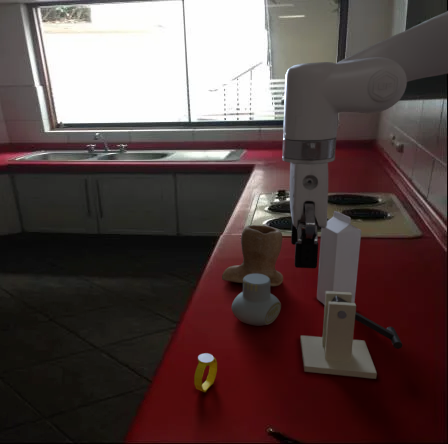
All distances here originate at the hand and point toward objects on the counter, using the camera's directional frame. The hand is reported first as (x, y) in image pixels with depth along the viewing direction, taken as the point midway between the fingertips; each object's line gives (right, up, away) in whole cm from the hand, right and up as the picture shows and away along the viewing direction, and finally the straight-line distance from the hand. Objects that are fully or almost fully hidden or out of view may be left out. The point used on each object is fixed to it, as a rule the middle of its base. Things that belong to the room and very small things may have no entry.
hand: (302, 255), depth 68 cm
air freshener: (-2, -17, +26) cm, 31 cm away
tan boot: (+2, -10, +44) cm, 46 cm away
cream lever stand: (+10, -20, +11) cm, 25 cm away
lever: (+13, -14, +8) cm, 21 cm away
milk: (+18, -14, +31) cm, 38 cm away
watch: (-15, -24, +6) cm, 29 cm away
